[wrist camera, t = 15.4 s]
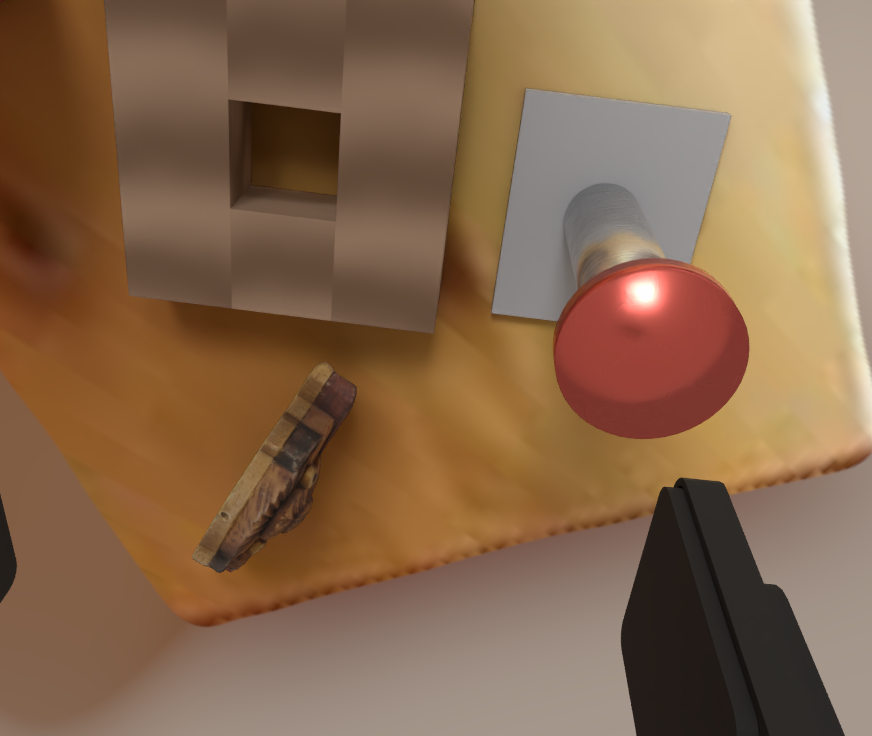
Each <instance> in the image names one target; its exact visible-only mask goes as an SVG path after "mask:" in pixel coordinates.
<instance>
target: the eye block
mask: <svg viewBox="0 0 872 736" xmlns="http://www.w3.org/2000/svg"><path fill="white" fill-rule="evenodd" d="M474 1H475V0H104V5H105V17H106V29H107V41H108V53H109V65H110V76H111V88H112V100H113V112H114V124H115V136H116V148H117V160H118V171H119V183H120V195H121V207H122V219H123V231H124V243H125V255H126V266H127V278H128V290H129V296H135V297H143V298H151V299H159V300H167V301H175V302H183V303H191V304H199V305H207V306H215V307H223V308H231V309H239V310H247V311H255V312H263V313H272V314H280V315H288V316H296V317H304V318H312V319H320V320H328V321H336V322H344V323H352V324H360V325H368V326H376V327H384V328H392V329H400V330H408V331H416V332H424V333H432V334H434V330H435V323H436V317H437V310H438V303H439V295H440V287H441V278H442V270H443V262H444V253H445V245H446V236H447V228H448V220H449V211H450V203H451V194H452V186H453V178H454V169H455V161H456V152H457V144H458V136H459V127H460V119H461V111H462V102H463V94H464V85H465V77H466V69H467V60H468V52H469V43H470V35H471V27H472V18H473V10H474ZM251 102H254V103H262V104H270V105H278V106H286V107H294V108H302V109H310V110H319V111H327V112H335V113H341V125H340V145H339V166H338V186H337V196H335V195H327V194H319V193H311V192H303V191H295V190H287V189H279V188H271V187H263V186H254V185H252V184H251Z"/></svg>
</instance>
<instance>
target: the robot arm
mask: <svg viewBox="0 0 872 736" xmlns="http://www.w3.org/2000/svg"><path fill="white" fill-rule="evenodd" d="M16 567H17V563H16V557H15V553H14V549H13V545H12V540H11V537H10V532H9V528H8V524H7V520H6V516H5V512H4V508H3V504H2V500H1V495H0V603H1V601H2V600H3V598H4V597H5V595H6V594H7V592H8V591H9V589H10V587H11V586H12V584H13V581H14V578H15V575H16ZM621 647H622V655H623V660H624V666H625V672H626V677H627V683H628V688H629V695H630V700H631V706H632V711H633V717H634V723H635V729H636V735H637V736H845V735H844V733H843V730H842V728H841V725H840V723H839V721H838V718H837V716H836V714H835V711H834V709H833V706H832V704H831V702H830V699H829V697H828V694H827V692H826V689H825V687H824V685H823V682H822V680H821V678H820V675H819V673H818V670H817V668H816V666H815V663H814V661H813V659H812V656H811V654H810V651H809V649H808V647H807V644H806V642H805V640H804V637H803V635H802V632H801V630H800V628H799V625H798V623H797V620H796V618H795V616H794V613H793V611H792V608H791V606H790V604H789V601H788V599H787V597H786V596H785V594H784V592H783V590H782V589H781V588H779V587H778V586H777V585H772V584H764V583H763V581H762V578H761V576H760V573H759V571H758V568H757V565H756V563H755V560H754V558H753V555H752V553H751V550H750V548H749V545H748V542H747V540H746V537H745V535H744V532H743V530H742V527H741V525H740V522H739V520H738V517H737V514H736V512H735V509H734V507H733V505H732V502H731V499H730V497H729V494H728V492H727V489H726V487H725V485H724V484H723V483H722V482H719V481H709V480H699V479H689V478H679V479H678V480H677V481H676V483H675V485H674V488H673V487H663V488H662V490H661V491H660V494H659V497H658V501H657V504H656V508H655V511H654V515H653V518H652V522H651V525H650V529H649V532H648V536H647V540H646V543H645V546H644V550H643V553H642V557H641V560H640V564H639V567H638V570H637V574H636V577H635V581H634V584H633V588H632V591H631V595H630V598H629V602H628V605H627V609H626V612H625V616H624V619H623V624H622V630H621Z"/></svg>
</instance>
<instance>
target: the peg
mask: <svg viewBox="0 0 872 736" xmlns="http://www.w3.org/2000/svg"><path fill="white" fill-rule="evenodd" d="M564 230H565V235H566V239H567V244H568V249H569V253H570V258H571V263H572V267H573V272H574V276H575V281H576V286H577V291H576V292H575V293H574V295H573V296H572V297H571V298H570V300H569V301H568V302H567V304H566V306H565V307H564V309H563V311H562V312H561V315H560V317H559V319H558V322H557V325H556V328H555V332H554V339H553V356H554V364H555V371H556V377H557V381H558V384H559V387H560V390H561V392H562V394H563V396H564V398H565V400H566V401H567V402H568V404H569V405H570V407H571V408H572V409H573V410H574V411H575V412H576V413H577V414H578V415H579V416H580V417H581V418H582V419H584V420H585V421H586V422H587V423H589V424H591V425H592V426H594V427H596V428H598V429H600V430H602V431H605V432H607V433H610V434H613V435H617V436H621V437H626V438H635V439H653V438H660V437H667V436H670V435H674V434H678V433H681V432H683V431H686V430H689V429H691V428H693V427H695V426H697V425H699V424H701V423H702V422H704V421H705V420H707V419H709V418H710V417H711V416H713V415H714V414H715V413H716V412H718V411H719V410H720V409H721V408H722V407H723V406H724V405H725V404H726V403H727V402H728V401H729V399H730V398H731V397H732V395H733V394H734V393H735V391H736V390H737V388H738V386H739V385H740V383H741V381H742V378H743V376H744V373H745V371H746V367H747V363H748V357H749V337H748V332H747V327H746V325H745V322H744V320H743V317H742V315H741V314H740V312H739V310H738V308H737V307H736V305H735V303H734V302H733V300H732V299H731V297H730V295H729V294H728V292H727V291H726V290H725V289H724V287H723V286H722V285H721V284H720V283H719V282H718V281H717V280H716V279H715V278H714V277H712V276H711V275H709V274H708V273H706V272H705V271H703V270H702V269H699V268H697V267H695V266H693V265H691V264H688V263H685V262H682V261H677V260H672V259H666V257H665V255H664V253H663V251H662V249H661V247H660V245H659V243H658V241H657V239H656V237H655V235H654V233H653V231H652V229H651V227H650V225H649V223H648V221H647V219H646V217H645V215H644V213H643V211H642V209H641V207H640V205H639V203H638V201H637V199H636V198H635V196H634V195H633V194H632V193H631V192H630V191H628V190H627V189H625V188H624V187H622V186H619V185H616V184H611V183H600V184H595V185H592V186H589V187H587V188H585V189H583V190H582V191H580V192H579V193H578V194H577V195H576V196H575V197H574V198H573V199H572V200H571V202H570V203H569V205H568V207H567V209H566V212H565V216H564Z"/></svg>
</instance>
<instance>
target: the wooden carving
mask: <svg viewBox="0 0 872 736" xmlns="http://www.w3.org/2000/svg"><path fill="white" fill-rule="evenodd" d="M356 394H357V392H356V386H355V385H353V384H352V383H350V382H349V381H347V380H346V379H344V378H343V377H341V376H339V375H338V374H337V373H336V372H335V371H334V368H333V367H332V366H331V365H330V364H328V363H327V362H320V363H319V364H317V365H316V366H315V367H314V369H313V370H312V372H311V373H310V375H309V376H308V378H307V379H306V381H305V382H304V384H303V385H302V387H301V389H300V390H299V392H298V393H297V395H296V396H295V398H294V399H293V401H292V402H291V404H290V405H289V407H288V408H287V409H286V411H285V412H284V414H283V415H282V416H281V418H280V419H279V421H278V422H277V423H276V425H275V426H274V428H273V429H272V431H271V432H270V433H269V435H268V436H267V438H266V439H265V441H264V443H263V444H262V446H261V447H260V449H259V450H258V452H257V453H256V455H255V456H254V458H253V459H252V461H251V463H250V464H249V466H248V467H247V469H246V470H245V472H244V474H243V475H242V477H241V478H240V480H239V481H238V482H237V484H236V485H235V487H234V489H233V490H232V492H231V493H230V495H229V496H228V498H227V500H226V501H225V503H224V504H223V506H222V507H221V509H220V510H219V512H218V513H217V515H216V517H215V518H214V520H213V522H212V523H211V525H210V526H209V528H208V530H207V531H206V533H205V535H204V536H203V538H202V540H201V542H200V543H199V545H198V547H197V548H196V550H195V551H194V553H193V555H192V558H193V559H194V560H195V561H197V562H199V563H200V564H202V565H204V566H208V567H210V568H212V569H214V570H215V571H216V572H219V573H221V572H224V571H225V570H227V571H229V572H232V571H234V570H237V569H239V568H240V567H241V566H242V565H244V564H245V563H246V561H247V560H248V559H249V558H250V557H251V556H252V555H253V554H255V553H256V552H258V551H259V550H261V549H262V548H263V547H264V546H265V544H266V543H267V540H269V539H271V538H273V537H275V536H276V535H278V534H279V533H287V532H288V531H290V530H292V529H293V528H295V527H296V526H297V525H298V524H300V523H301V522H302V521H303V520H304V518H305V516H306V515H307V514H308V512H309V510H310V508H311V506H312V503H313V498H312V493H313V491H314V488H315V486H316V484H317V481H318V478H319V472H320V465H321V456H320V455H321V453H322V451H323V450H324V448H325V447H326V445H327V444H328V442H329V441H330V439H331V438H332V436H333V435H334V434H335V432H336V431H337V429H338V428H339V427H340V425H341V424H342V422H343V421H344V419H345V418H346V417H347V415H348V414H349V412H350V410H351V408H352V406H353V404H354V401H355V398H356Z"/></svg>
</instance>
